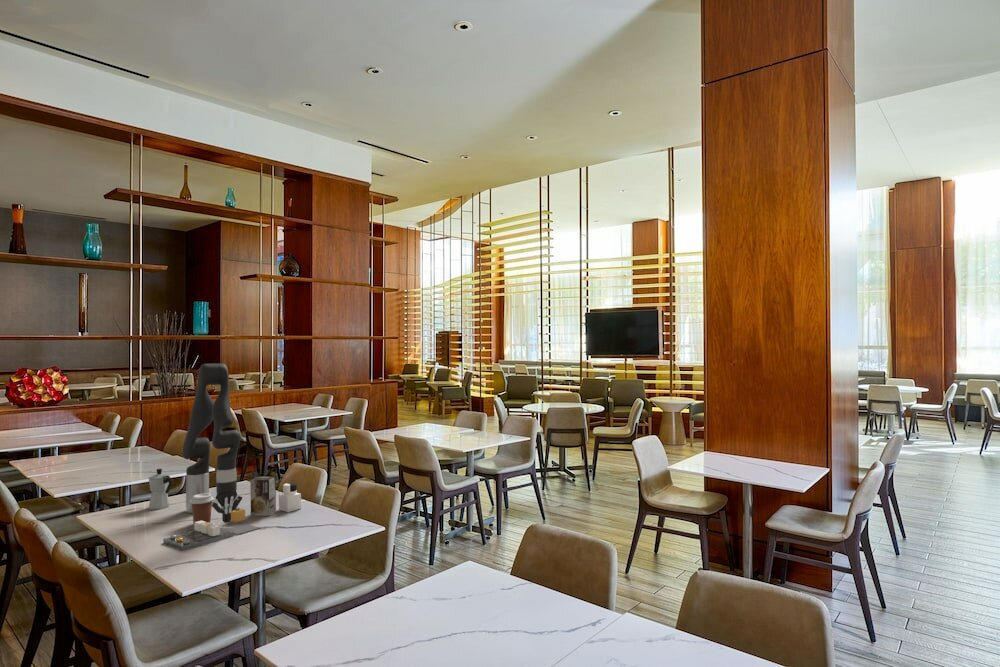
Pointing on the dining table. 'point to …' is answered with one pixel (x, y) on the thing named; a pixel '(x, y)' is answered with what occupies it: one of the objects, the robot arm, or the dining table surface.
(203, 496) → the coffee cup
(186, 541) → the dark grey flat slab
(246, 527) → the lockout mat
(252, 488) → the coffee box
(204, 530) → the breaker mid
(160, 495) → the coffee maker
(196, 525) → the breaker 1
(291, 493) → the medicine bottle
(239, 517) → the lockout cap
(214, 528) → the breaker
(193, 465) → the robot arm
